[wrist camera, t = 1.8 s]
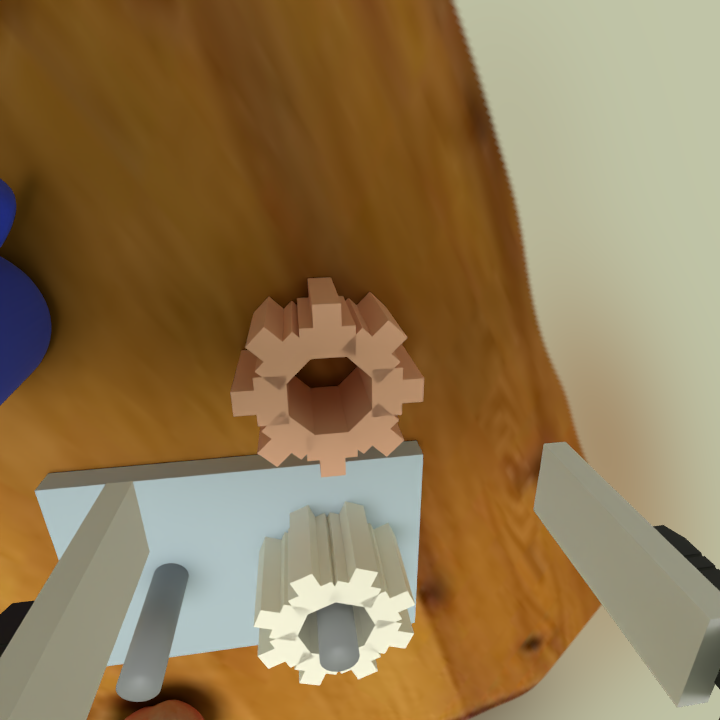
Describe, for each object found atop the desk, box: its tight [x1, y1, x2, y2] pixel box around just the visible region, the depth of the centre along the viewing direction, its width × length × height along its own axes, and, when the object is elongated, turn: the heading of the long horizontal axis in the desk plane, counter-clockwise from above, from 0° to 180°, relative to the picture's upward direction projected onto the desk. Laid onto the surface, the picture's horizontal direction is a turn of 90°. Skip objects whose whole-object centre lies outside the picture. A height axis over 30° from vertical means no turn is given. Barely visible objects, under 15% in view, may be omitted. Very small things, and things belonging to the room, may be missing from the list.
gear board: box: [35, 441, 423, 702], centre depth 26 cm, size 14×21×8 cm, turn 91°
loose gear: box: [230, 277, 424, 477], centre depth 23 cm, size 9×9×5 cm
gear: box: [254, 501, 415, 685], centre depth 26 cm, size 9×9×5 cm
